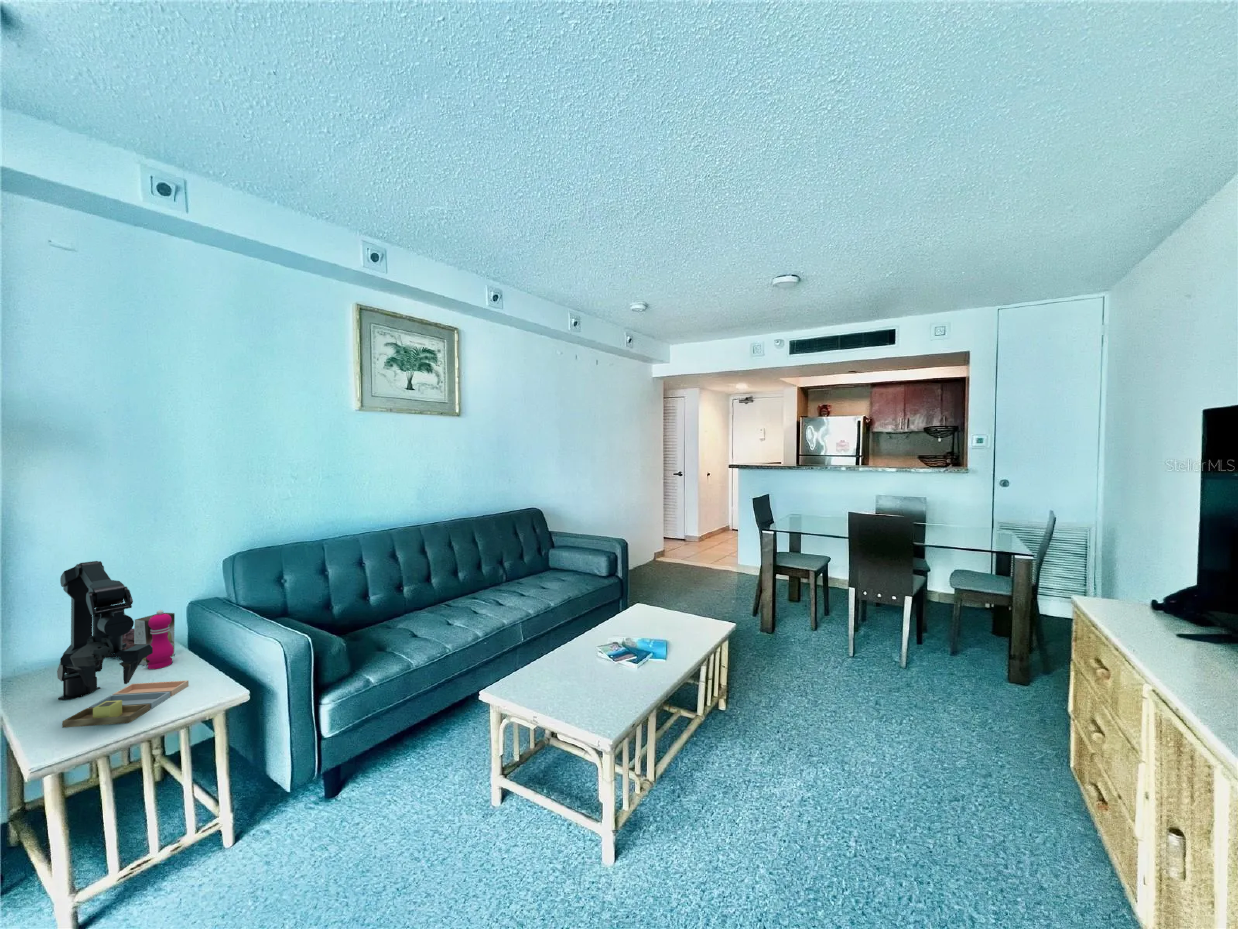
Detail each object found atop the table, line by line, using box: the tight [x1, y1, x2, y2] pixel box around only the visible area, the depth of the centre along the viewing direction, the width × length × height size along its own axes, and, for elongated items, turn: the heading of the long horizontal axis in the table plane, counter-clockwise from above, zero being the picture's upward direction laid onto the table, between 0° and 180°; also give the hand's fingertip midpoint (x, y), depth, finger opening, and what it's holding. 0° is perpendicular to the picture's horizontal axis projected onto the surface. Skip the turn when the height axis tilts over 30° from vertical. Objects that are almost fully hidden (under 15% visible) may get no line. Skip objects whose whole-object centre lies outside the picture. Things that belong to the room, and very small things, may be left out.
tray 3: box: [111, 680, 190, 698], centre depth 149 cm, size 16×7×2 cm, turn 99°
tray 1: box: [61, 704, 151, 728], centre depth 134 cm, size 16×7×2 cm, turn 99°
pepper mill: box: [146, 609, 175, 670], centre depth 170 cm, size 7×7×20 cm
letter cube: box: [93, 700, 122, 718], centre depth 134 cm, size 4×4×4 cm
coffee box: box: [133, 612, 176, 666], centre depth 175 cm, size 9×6×16 cm
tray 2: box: [88, 692, 171, 710], centre depth 142 cm, size 16×7×2 cm, turn 99°
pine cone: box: [122, 628, 134, 650], centre depth 178 cm, size 18×10×10 cm, turn 54°
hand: (107, 684), depth 134 cm, fingers open, 9 cm apart
